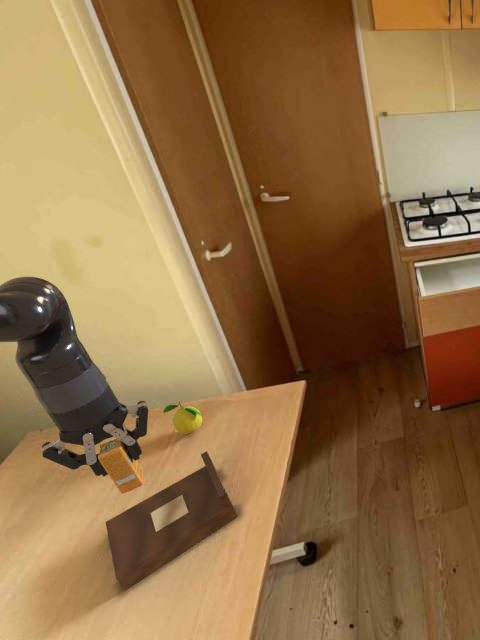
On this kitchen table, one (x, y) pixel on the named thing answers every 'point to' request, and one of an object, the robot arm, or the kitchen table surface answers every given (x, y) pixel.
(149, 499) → the shelf
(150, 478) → the kitchen table surface
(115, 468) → the supplement box
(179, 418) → the lemon
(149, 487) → the kitchen table surface
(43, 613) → the kitchen table surface
